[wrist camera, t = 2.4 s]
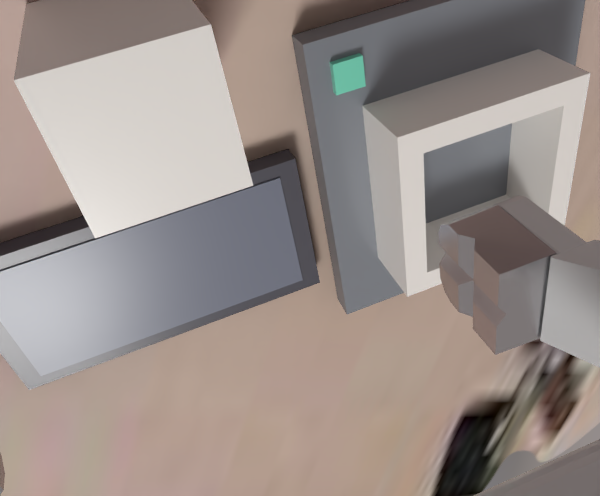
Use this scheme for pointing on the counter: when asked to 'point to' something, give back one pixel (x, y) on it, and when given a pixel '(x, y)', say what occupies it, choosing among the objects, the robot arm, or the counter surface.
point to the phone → (151, 275)
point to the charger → (131, 106)
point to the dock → (436, 127)
